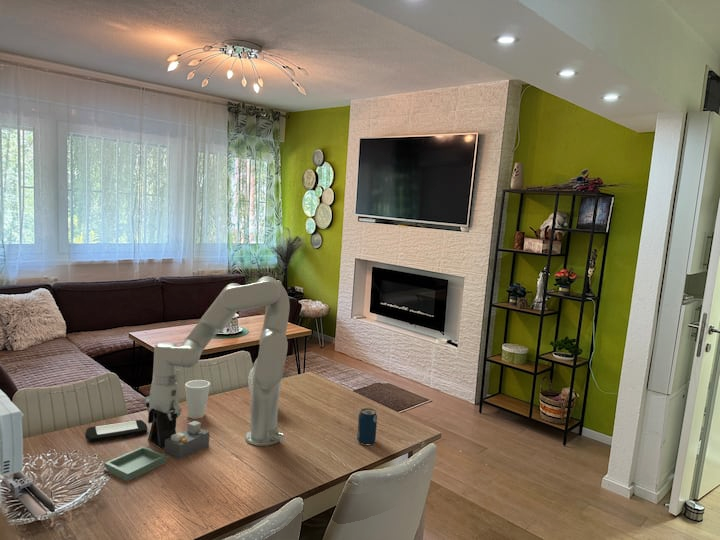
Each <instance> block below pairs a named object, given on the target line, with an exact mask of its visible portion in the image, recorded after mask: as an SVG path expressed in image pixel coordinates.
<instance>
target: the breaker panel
mask: <svg viewBox="0 0 720 540" xmlns="http://www.w3.org/2000/svg"><path fill="white" fill-rule="evenodd" d="M180 433H182V434H184V435H185V438H183V439H182V440H181V441H179V442H176V441H173V440H171V437H170V438H168V439H165V448H164V453H163V454H164V455H166V456H168V457H171V458H173V459H176V460H178V461H180V460H183V459H184V458H187V457H189V456H190V455H192V454H194V453H196V452H199V451H200V450H203V449H204V448H207V447H209V446H210V431H207V430H206V429H202V428H200V431H198V433H196V434H194V435H193V434H190V433H188V429H186V430H183V431H182V432H180Z"/></svg>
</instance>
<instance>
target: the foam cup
mask: <svg viewBox="0 0 720 540" xmlns="http://www.w3.org/2000/svg"><path fill="white" fill-rule="evenodd" d="M210 390H211V382H210V381H208V380H204V379H194V380H189V381H187V382H186V383H185V385H184V391H185V397H186V398H185V400H186V409H187V416H188V418H190V419H200V418H203V417H205V415H206V410H207V404H208V399H209V394H210Z"/></svg>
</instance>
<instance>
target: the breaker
mask: <svg viewBox="0 0 720 540" xmlns="http://www.w3.org/2000/svg"><path fill="white" fill-rule="evenodd" d="M201 424H202V423H201V422H199V421H197V420H193V421H191V422H189V423H187V430H188V433H190V434H193V435H194V434H196V433H198V431H200V429H201V426H202V425H201Z"/></svg>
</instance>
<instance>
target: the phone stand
mask: <svg viewBox="0 0 720 540" xmlns="http://www.w3.org/2000/svg"><path fill="white" fill-rule="evenodd" d="M170 410H171V409H170ZM170 410H169V411H170ZM171 415H173V413H171ZM168 420H169V418H168V415H167V414H166V413H163V412H160V411H158V410H156V411H154V413H153V422H152V423H151V425H150V430H149V434H148V439H147V440H148V441H149V442H150V443H152V444H153V445H154V446H156V447H158V449H160V448H161V449H165V439H168V438H170V437H171V435H173V434H175V433H177V431H176V428H175V429H173V430H171V431H167V425H168Z"/></svg>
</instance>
